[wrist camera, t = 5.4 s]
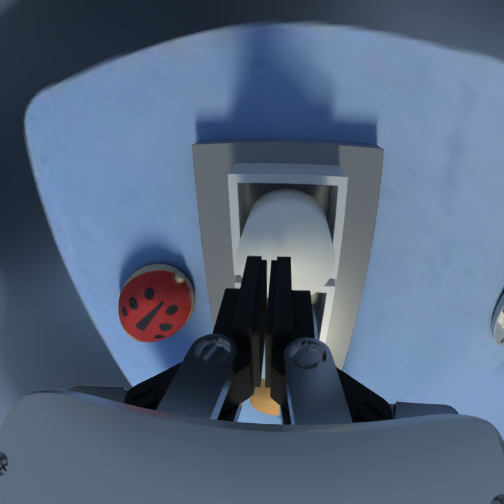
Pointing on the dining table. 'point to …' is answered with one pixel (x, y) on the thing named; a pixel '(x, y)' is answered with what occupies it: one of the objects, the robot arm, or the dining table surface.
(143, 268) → the ladybug figurine
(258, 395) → the button orange
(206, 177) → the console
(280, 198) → the button cream
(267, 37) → the dining table surface
